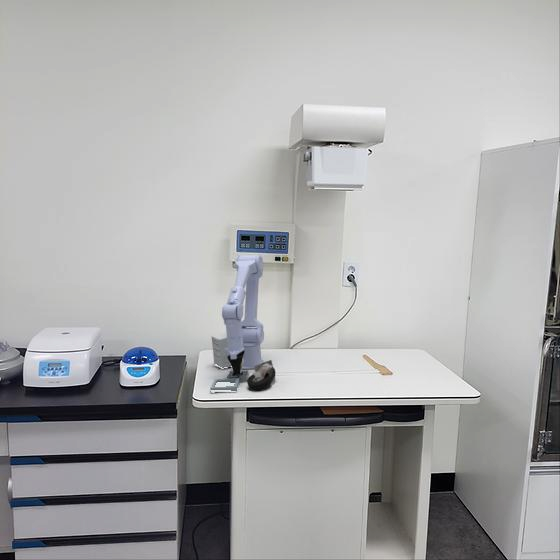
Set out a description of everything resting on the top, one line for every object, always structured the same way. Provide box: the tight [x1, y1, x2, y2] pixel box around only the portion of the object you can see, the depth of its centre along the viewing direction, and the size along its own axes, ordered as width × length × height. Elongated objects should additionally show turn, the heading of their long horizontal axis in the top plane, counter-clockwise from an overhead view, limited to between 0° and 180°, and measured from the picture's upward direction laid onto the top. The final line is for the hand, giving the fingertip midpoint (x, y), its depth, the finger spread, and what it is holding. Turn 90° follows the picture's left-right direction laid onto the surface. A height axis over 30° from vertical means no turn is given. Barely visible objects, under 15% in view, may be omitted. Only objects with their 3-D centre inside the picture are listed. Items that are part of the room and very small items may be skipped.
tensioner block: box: [226, 369, 250, 383], centre depth 184 cm, size 7×7×2 cm
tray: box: [209, 378, 241, 392], centre depth 176 cm, size 9×9×2 cm
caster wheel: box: [246, 359, 277, 392], centre depth 176 cm, size 7×11×10 cm
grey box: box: [211, 332, 232, 368], centre depth 200 cm, size 7×7×13 cm
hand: (237, 372), depth 184 cm, fingers closed on lock pin, 3 cm apart
